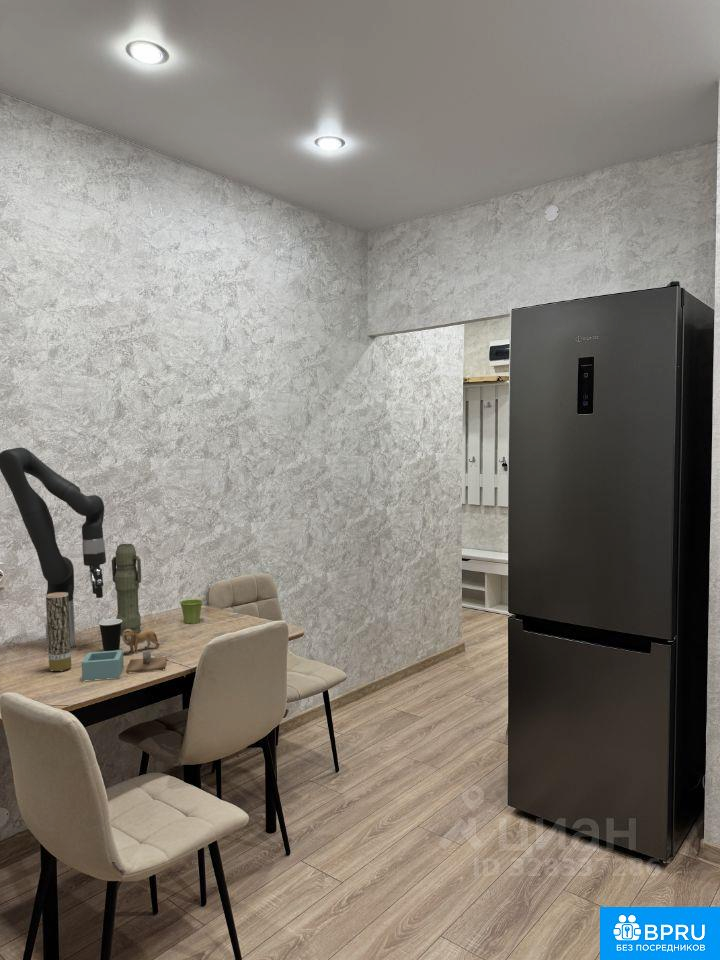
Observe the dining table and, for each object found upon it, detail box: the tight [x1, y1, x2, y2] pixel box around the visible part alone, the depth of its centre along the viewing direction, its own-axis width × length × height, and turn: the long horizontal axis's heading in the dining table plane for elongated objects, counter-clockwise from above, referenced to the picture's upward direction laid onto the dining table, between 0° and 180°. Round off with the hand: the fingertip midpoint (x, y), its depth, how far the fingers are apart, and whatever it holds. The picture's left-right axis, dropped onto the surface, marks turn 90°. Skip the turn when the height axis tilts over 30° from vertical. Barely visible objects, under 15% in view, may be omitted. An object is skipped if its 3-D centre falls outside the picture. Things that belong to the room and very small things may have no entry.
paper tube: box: [45, 592, 72, 672], centre depth 232 cm, size 7×7×25 cm
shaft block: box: [125, 651, 168, 674], centre depth 233 cm, size 12×12×4 cm
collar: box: [81, 649, 125, 682], centre depth 225 cm, size 11×11×6 cm
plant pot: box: [179, 598, 204, 624], centre depth 291 cm, size 9×9×9 cm
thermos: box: [111, 543, 142, 637], centre depth 276 cm, size 9×12×35 cm
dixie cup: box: [98, 618, 122, 652], centre depth 251 cm, size 8×8×11 cm
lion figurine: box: [121, 629, 160, 655], centre depth 251 cm, size 15×5×9 cm, turn 140°
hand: (97, 595), depth 253 cm, fingers open, 8 cm apart
